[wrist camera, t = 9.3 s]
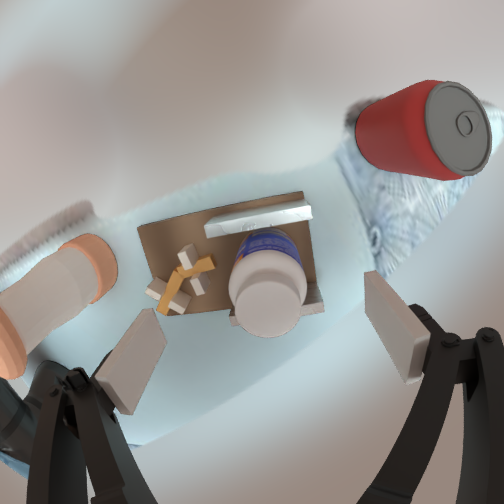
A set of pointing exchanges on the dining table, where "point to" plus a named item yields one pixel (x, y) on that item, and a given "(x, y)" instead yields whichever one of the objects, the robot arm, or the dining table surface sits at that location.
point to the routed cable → (187, 268)
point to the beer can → (427, 132)
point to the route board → (213, 250)
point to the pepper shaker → (52, 297)
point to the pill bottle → (267, 283)
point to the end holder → (261, 219)
